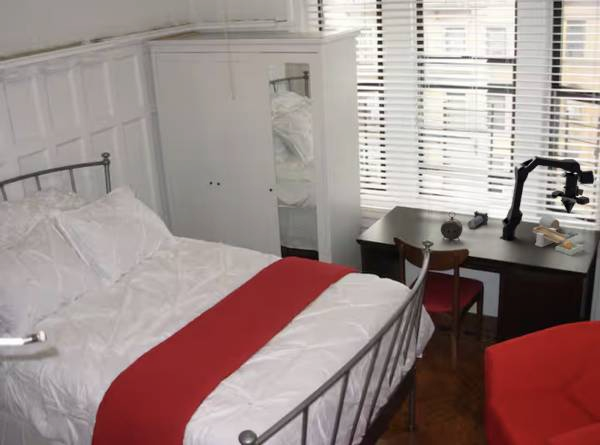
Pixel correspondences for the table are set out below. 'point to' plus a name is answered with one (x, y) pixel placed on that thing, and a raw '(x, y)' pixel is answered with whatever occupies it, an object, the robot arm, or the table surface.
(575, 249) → the tray
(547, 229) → the lever
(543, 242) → the stand
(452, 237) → the alarm clock
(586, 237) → the table surface
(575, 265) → the table surface
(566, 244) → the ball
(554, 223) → the ceramic mug
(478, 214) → the camera
